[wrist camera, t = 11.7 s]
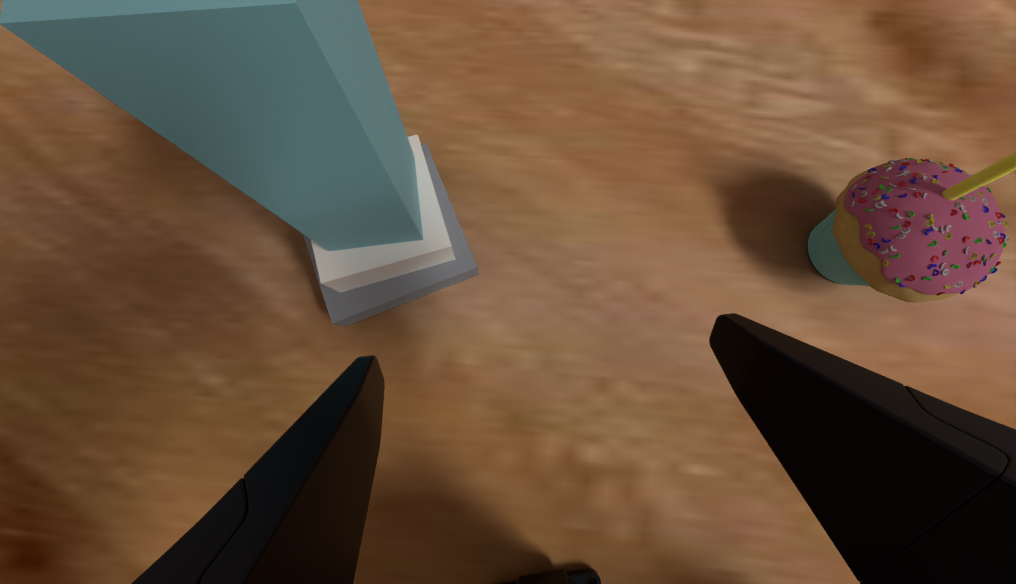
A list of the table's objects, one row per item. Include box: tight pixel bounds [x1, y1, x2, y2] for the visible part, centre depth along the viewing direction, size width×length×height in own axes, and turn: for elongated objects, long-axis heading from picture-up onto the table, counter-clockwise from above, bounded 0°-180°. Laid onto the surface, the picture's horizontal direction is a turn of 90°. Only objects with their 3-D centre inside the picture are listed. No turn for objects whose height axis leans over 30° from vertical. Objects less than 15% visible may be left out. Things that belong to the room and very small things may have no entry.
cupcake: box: [808, 153, 1016, 302], centre depth 20 cm, size 9×8×12 cm
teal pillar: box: [0, 0, 423, 251], centre depth 13 cm, size 5×5×13 cm
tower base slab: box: [302, 143, 478, 327], centre depth 23 cm, size 9×9×2 cm
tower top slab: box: [311, 135, 456, 293], centre depth 21 cm, size 7×7×2 cm
